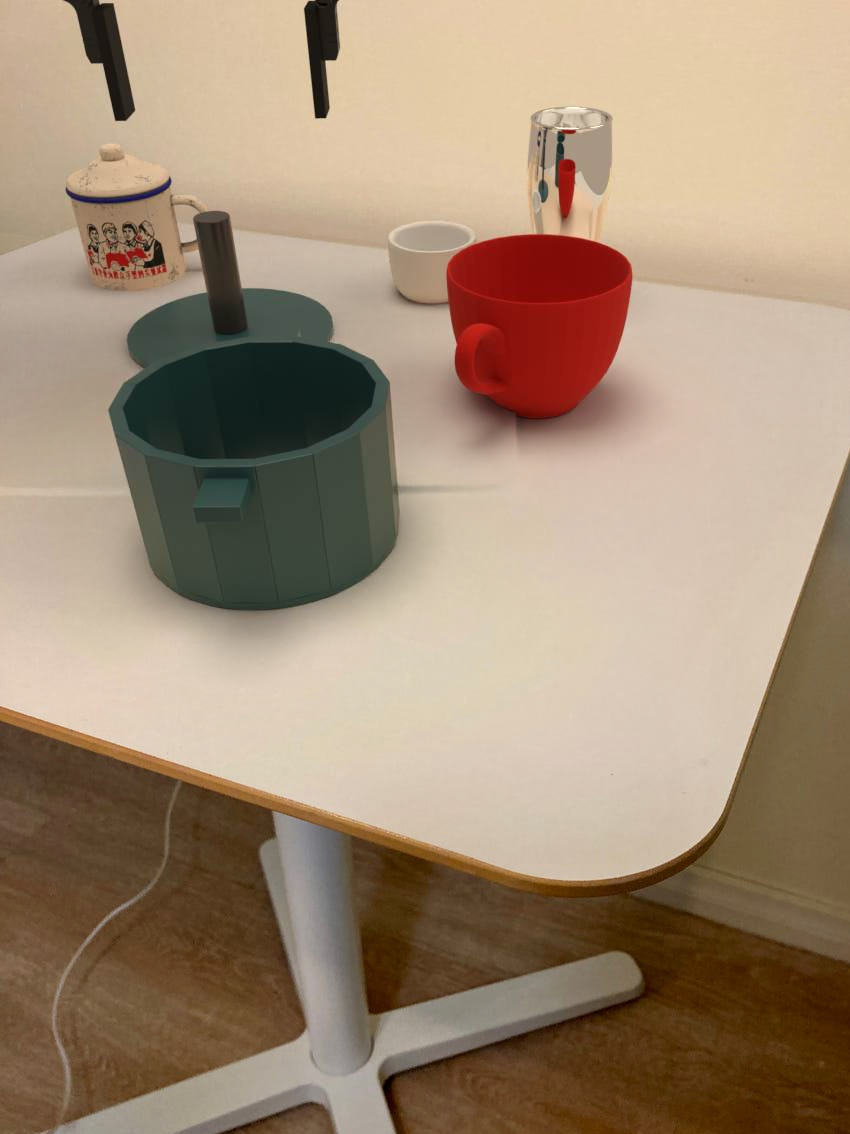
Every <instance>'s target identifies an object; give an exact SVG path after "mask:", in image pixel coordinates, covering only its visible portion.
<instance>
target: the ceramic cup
mask: <svg viewBox="0 0 850 1134" xmlns="http://www.w3.org/2000/svg"><path fill="white" fill-rule="evenodd" d="M446 279H447V292H448V301H449V302H448V308H449V315H450V316H449V317H450V321H451V327H452V332H453V337H454V340H455V343H456V346H455V351H454V368H455V372H456V376H457V377H458V379H459V381H460V383H461V384H462V385H463V386H464V387H465V388H466V389H467V390H469V391H471V392H474V393H477V394H483V395H486V396H487V397H488V398H489V399H491V400H492V401H493V402H494V403H495V404H497V405H498V406H499V407H502V408H504V409H505V410H509V411H512V412H515V416H516V417H521V418H528V419H546V418H552V417H557V416H561V415H564V414H566V413H569V412H571V411H572V410H574V409H575V408H576V407H577V406H578V405H579V403H580V402H581V401H582V400H584V399H585V398H586V397H587V396H588V395H589V394H590V393H591V392H592V391H593V390H594V389H595V388H596V387H597V385H598V384H599V383H600V382H601V381H602V380H603V378H604V376H605V375H606V374H607V372H608V371H609V369H610V367H611V365H613V362H614V359H615V357H616V355H617V352H618V349H619V346H620V345H621V340H622V338H623V334H624V330H625V328H626V327H625V326H626V323H627V319H628V318H627V317H628V313H629V308H630V307H629V306H630V300H631V295H632V286H633V269H632V264H631V262H630V261H629V259H628V258H627V256H625V255H624V254H623V253H622V252H620V251H619V250H617V249H615V248H613V247H611V246H610V245H606V244H604V243H601V242H599V243H598V242H595V241H591V240H587V239H583V238H578V237H571V236H564V235H550V234H533V233H527V234H514V235H508V236H507V235H506V236H500V237H495V238H491V239H487V240H483V241H480V242H477V244H474V245H471V246H469V247H467V248H465V249H463V250H461V251H459V252H458V253H457V254H456V255H454V256H453V257H452V259H451V260H450V261H449V263H448V266H447V271H446Z"/></svg>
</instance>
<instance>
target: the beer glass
mask: <svg viewBox="0 0 850 1134" xmlns="http://www.w3.org/2000/svg"><path fill="white" fill-rule="evenodd" d="M529 118H530V119H529V121H530V123H529V124H530V125H529V135H528V144H527V145H528V146H527V159H526V192H527V202H528V203H527V204H528V212H529V217H530V224H531V225H530V226H531V231H532V234H550V235H564V236H571V237H578V238H583V239H587V240H591V241H595V242H598V243H600V238H601V236H602V235H601V234H602V230H603V226H604V222H605V218H606V213H607V208H608V203H609V198H610V192H611V185H612V173H613V120H614V119H613V116H612V115H611V113H609V112H607V111H604V110H601V109H598V108H593V107H585V106H556V107H550V108H545V109H544V108H543V109H541V110H538V111H535V112H534V113H532V114H531V116H530V117H529Z"/></svg>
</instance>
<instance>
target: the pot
mask: <svg viewBox="0 0 850 1134" xmlns="http://www.w3.org/2000/svg"><path fill="white" fill-rule="evenodd" d="M392 407H393V406H392V394H391V383H390V380H389V379H388V378H387V376H386V375H385V374H384V372H383V371H382V369H381V368H380V366H379V365H378V363H377V362H376V361H375V360H374V359H373V358H370V357H368V356H366V355H364V354H362V353H361V352H358V351H356V350H354V349H352V348H350V347H348V346H346V345H343V344H341V343H336V342H331V341H329V342H326V341H320V340H315V339H309V338H304V337H301V334H300V329H264V330H263V332H262V335H261V337H245V338H240V339H234V340H228V341H222V342H216V343H211V344H205V345H200V346H196V347H194V348H191V349H188V350H185V351H183V352H180V353H177V354H174V355H172V356H169V357H166V358H163V359H161V360H158V361H156V362H154V363H152V364H151V365H149V366H148V367H147V368H144V369H142V370H141V371H139V372H138V373H136V374H135V375H133V376H132V377H130V378H129V379H127V380H125V382H123V384H122V385H121V387H120V388H119V389H118V392H117V393H116V395H115V397H114V399H113V400H112V402H111V403H110V405H109V406H108V409H107V411H108V416H109V419H110V423H111V427H112V431H113V435H114V437H115V442H116V445H117V449H118V453H119V456H120V459H121V463H122V467H123V470H124V475H125V478H126V481H127V487H128V489H129V493H130V497H131V501H132V504H133V508H134V511H135V514H136V518H137V522H138V525H139V529H140V533H141V536H142V541H143V544H144V548H145V552H146V555H147V559H148V563H149V566H150V569H152V571H153V572H154V574H155V575H156V577H157V578H158V579H159V580H160V581H161V582H162V583H163V584H164V585H165V586H166V587H167V588H169V589H170V590H172V591H174V592H175V593H177V594H178V595H181V596H182V597H185V598H187V599H188V600H191V601H195V602H196V603H197V602H198V603H200V604H204V605H207V606H212V607H217V608H222V609H231V610H242V611H243V610H246V611H249V610H250V611H258V610H276V609H283V608H290V607H295V606H299V605H304V604H308V603H311V602H316V601H319V600H322V599H325V598H327V597H330V596H333V595H336V594H338V593H340V592H342V591H344V590H346V589H348V588H351V587H353V586H354V585H356V584H357V583H359V582H361V581H362V580H364V579H365V578H367V577H368V576H369V575H370V574H372V573H373V572H374V571H375V570H377V569H378V568H379V566H380V565H381V564H382V563H384V562H385V560H386V559H387V557H388V556H389V555H390V553H391V552H392V550H393V549H394V546H395V544H396V542H397V538H398V534H399V519H400V502H399V487H398V486H399V485H398V474H397V462H396V449H395V448H396V447H395V435H394V422H393V421H394V420H393V408H392Z"/></svg>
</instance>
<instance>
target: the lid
mask: <svg viewBox="0 0 850 1134" xmlns="http://www.w3.org/2000/svg"><path fill="white" fill-rule="evenodd" d="M192 221H193V226H194V232H195V237H196V239H197V243H198V248H199V249H198V253H199V259H200V263H201V269H202V275H203V279H204V284H205V291H206V292H200V293H197V294H192V295H188V296H185V297H181V298H178V299H174V300H172V301H169V302H167V303H165V304H162V305H160V306H158V307H156V308H154V309H152V310H150V311H148V312H147V313H145V314H144V315H143V316H140V318H139V319H137V321H136V322H134V324H133V325H132V326H131V327H130V329H129V331H128V333H127V337H126V343H127V344H126V345H127V349H128V352H129V354H130V356H131V358H132V359H133V360H134V361H135V362H136V363H137V364H138V365H139V366H141V367H142V368H144V369H145V368H147V367H148V366H149V365H151V364H152V363H154V362H156V361H158V360H161V359H163V358H166V357H169V356H172V355H174V354H177V353H180V352H183V351H185V350H188V349H191V348H194V347H196V346H200V345H205V344H211V343H216V342H222V341H228V340H234V339H240V338H245V337H261V335H262V332H263V330H264V329H300V334H301V337H304V338H309V339H315V340H320V341H326V342H330V340H331V339H332V336H333V333H334V322H333V321H334V319H333V316H332V315H331V313H330V311H329V309H327V307H326V306H324V305H323V304H322V303H321V302H319V301H317V300H315V299H314V298H311V297H309V296H306V295H303V294H300V293H296V292H292V291H288V290H282V289H274V288H259V287H258V288H256V287H255V288H254V287H244V288H243V287H242V282H241V275H240V269H239V262H238V258H237V250H236V244H235V239H234V232H233V227H232V221H231V216H230V214H229V213H228V212H226V211H222V210H209V211H207V212H202V213H199V212H198V213H197V214H195V215H194V216H193V218H192Z"/></svg>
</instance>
